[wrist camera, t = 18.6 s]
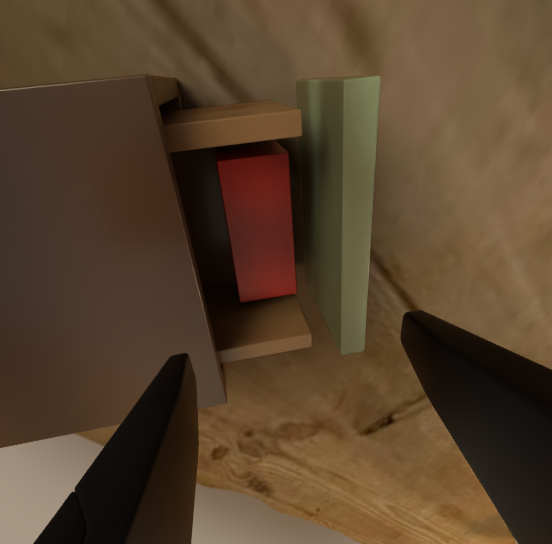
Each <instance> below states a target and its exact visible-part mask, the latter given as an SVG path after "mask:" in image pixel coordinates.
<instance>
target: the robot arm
mask: <svg viewBox="0 0 552 544" xmlns="http://www.w3.org/2000/svg"><path fill="white" fill-rule="evenodd" d="M401 342H402V345H403V347H404V350H405V352H406V354H407V356H408V358H409V360H410V362H411V364H412V366H413V368H414V370H415V372H416V374H417V377H418V379H419V381H420V383H421V385H422V387H423V389H424V391H425V393H426V395H427V397H428V398H429V400H430V402H431V403H432V405H433V407H434V408H435V410H436V412H437V413H438V415H439V416H440V418H441V420H442V421H443V423H444V425H445V426H446V428H447V429H448V431H449V433H450V434H451V436H452V438H453V439H454V441H455V442H456V444H457V446H458V447H459V449H460V450H461V452H462V454H463V455H464V457H465V459H466V460H467V462H468V463H469V465H470V467H471V468H472V470H473V471H474V473H475V475H476V476H477V478H478V480H479V481H480V483H481V484H482V486H483V488H484V489H485V491H486V492H487V494H488V496H489V497H490V499H491V501H492V502H493V504H494V505H495V507H496V509H497V510H498V512H499V513H500V515H501V517H502V518H503V520H504V522H505V523H506V525H507V526H508V528H509V530H510V531H511V533H512V534H513V536H514V538H515V539H516V541H517V543H518V544H552V370H551V369H549V368H547V367H544V366H542V365H540V364H538V363H536V362H533V361H531V360H529V359H527V358H525V357H523V356H520V355H518V354H516V353H514V352H512V351H509V350H507V349H505V348H503V347H501V346H498V345H496V344H494V343H492V342H490V341H488V340H485V339H483V338H481V337H479V336H477V335H474V334H472V333H470V332H468V331H466V330H463V329H461V328H459V327H457V326H455V325H453V324H450V323H448V322H446V321H444V320H442V319H439V318H437V317H435V316H433V315H431V314H429V313H426V312H424V311H422V310H416V311H410V312H406V313H405V314H404V316H403V322H402V330H401ZM198 446H199V440H198V409H197V384H196V377H195V373H194V370H193V367H192V363H191V360H190V357H189V355H188V354H187V353H181V354H176V355H172V356H170V357H169V358H168V360H167V361H166V363H165V364H164V365H163V367H162V368H161V369H160V371H159V372H158V374H157V375H156V376H155V378H154V379H153V380H152V382H151V383H150V385H149V386H148V387H147V389H146V390H145V392H144V393H143V394H142V396H141V397H140V398H139V400H138V401H137V403H136V404H135V405H134V407H133V408H132V409H131V411H130V412H129V414H128V415H127V416H126V418H125V419H124V421H123V422H122V423H121V425H120V426H119V427H118V429H117V430H116V432H115V433H114V434H113V436H112V437H111V439H110V440H109V441H108V443H107V444H106V445H105V447H104V448H103V450H102V451H101V452H100V454H99V455H98V456H97V458H96V459H95V461H94V462H93V464H92V465H91V466H90V468H89V469H88V470H87V472H86V473H85V474H84V476H83V477H82V479H81V480H80V482H79V483H78V484H77V485H76V487H75V492H72V493H71V494H70V495H69V496H68V498H67V499H66V500H65V502H64V503H63V505H62V506H61V507H60V509H59V510H58V511H57V513H56V514H55V516H54V517H53V518H52V519H51V521H50V522H49V524H48V525H47V526H46V527H45V529H44V530H43V532H42V533H41V534H40V535H39V537H38V538H37V539H36V541H35V542H34V544H191V538H192V524H193V512H194V499H195V487H196V475H197V462H198Z"/></svg>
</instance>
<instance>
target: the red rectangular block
mask: <svg viewBox="0 0 552 544" xmlns="http://www.w3.org/2000/svg"><path fill="white" fill-rule="evenodd" d="M215 151H216V164H217V170H218V176H219V182H220V188H221V193H222V199H223V205H224V211H225V217H226V223H227V229H228V235H229V241H230V247H231V252H232V258H233V264H234V270H235V276H236V282H237V288H238V294H239V300H240V302H247V301H253V300H259V299H265V298H271V297H277V296H283V295H289V294H295V293H297V282H296V267H295V251H294V235H293V219H292V203H291V187H290V171H289V155H288V152H287V151H286V150H285V149H284V148H283V147H281V146H280V145H279V144H278V143H277V142H276V141H275V140H268V141H259V142H251V143H243V144H235V145H227V146H219V147H215Z"/></svg>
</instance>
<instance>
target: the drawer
mask: <svg viewBox="0 0 552 544" xmlns="http://www.w3.org/2000/svg"><path fill="white" fill-rule="evenodd" d="M380 81H381V77H380V76H356V77H329V78H313V79H303V80H297V81H296V96H297V109H296V108H293V107H290V106H287V105H284V104H280V103H277V102H274V101H271V100H267V101H258V102H249V103H240V104H231V105H222V106H213V107H204V108H195V109H186V110H177V111H168V112H160V114H161V118H162V122H163V126H164V131H165V135H166V139H167V143H168V147H169V151H170V156H171V160H172V164H173V168H174V172H175V177H176V181H177V185H178V189H179V193H180V197H181V202H182V206H183V210H184V214H185V218H186V223H187V227H188V231H189V235H190V239H191V243H192V248H193V252H194V256H195V260H196V264H197V268H198V273H199V277H200V281H201V285H202V289H203V294H204V298H205V302H206V306H207V310H208V314H209V319H210V323H211V327H212V331H213V335H214V340H215V344H216V348H217V352H218V356H219V360H220V364H222V363H228V362H233V361H238V360H244V359H249V358H254V357H260V356H265V355H270V354H276V353H281V352H286V351H292V350H297V349H302V348H308V347H312V334H311V332H310V329H309V327H308V324H307V322H306V319H305V317H304V314H303V312H302V309H301V307H300V304H299V302H298V299H297V296H296V294H289V295H283V296H277V297H271V298H265V299H259V300H253V301H247V302H240V300H239V294H238V288H237V282H236V276H235V270H234V264H233V258H232V252H231V247H230V241H229V235H228V229H227V223H226V217H225V211H224V205H223V199H222V193H221V188H220V182H219V176H218V170H217V164H216V151H215V147H219V146H227V145H235V144H243V143H251V142H259V141H268V140H275V141H276V142H277V139H284V138H292V137H299V154H300V174H301V193H302V213H303V232H304V252H305V271H306V283H307V285H308V287H309V289H310V291H311V293H312V296H313V298H314V300H315V302H316V304H317V306H318V308H319V310H320V312H321V315H322V317H323V319H324V321H325V323H326V325H327V327H328V329H329V331H330V333H331V336H332V338H333V340H334V342H335V344H336V346H337V348H338V350H339V352H340V354H341V355H345V354H351V353H356V352H361V351H364V348H365V331H366V315H367V298H368V281H369V265H370V248H371V231H372V218H373V198H374V181H375V165H376V148H377V131H378V115H379V98H380Z"/></svg>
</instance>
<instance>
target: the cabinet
mask: <svg viewBox="0 0 552 544" xmlns="http://www.w3.org/2000/svg"><path fill="white" fill-rule="evenodd" d="M177 110H183V107H182V102H181V97H180V92H179V87H178V83H177V79H176V78H170V77H160V76H151V75H136V76H126V77H115V78H105V79H95V80H85V81H75V82H65V83H55V84H45V85H35V86H24V87H14V88H4V89H0V448H3V447H8V446H13V445H18V444H22V443H28V442H33V441H38V440H42V439H48V438H53V437H57V436H63V435H68V434H73V433H78V432H83V431H88V430H93V429H98V428H103V427H108V426H113V425H118V424H121V423H122V422H123V421H124V419H125V418H126V416H127V415H128V414H129V412H130V411H131V409H132V408H133V407H134V405H135V404H136V403H137V401H138V400H139V398H140V397H141V396H142V394H143V393H144V392H145V390H146V389H147V387H148V386H149V385H150V383H151V382H152V380H153V379H154V378H155V376H156V375H157V374H158V372H159V371H160V369H161V368H162V367H163V365H164V364H165V363H166V361H167V360H168V358H169V357H170V356H172V355H176V354H181V353H187V354H188V355H189V357H190V360H191V363H192V367H193V370H194V373H195V377H196V384H197V409H198V408H203V407H208V406H213V405H218V404H223V403H227V391H226V372H225V363H222V364H220V360H219V356H218V352H217V348H216V344H215V340H214V335H213V331H212V327H211V323H210V319H209V314H208V310H207V306H206V302H205V298H204V294H203V289H202V285H201V281H200V277H199V273H198V268H197V264H196V260H195V256H194V252H193V248H192V243H191V239H190V235H189V231H188V227H187V223H186V218H185V214H184V210H183V206H182V202H181V197H180V193H179V189H178V185H177V181H176V177H175V172H174V168H173V164H172V160H171V156H170V151H169V147H168V143H167V139H166V135H165V131H164V126H163V122H162V118H161V114H160V112H168V111H177Z"/></svg>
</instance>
